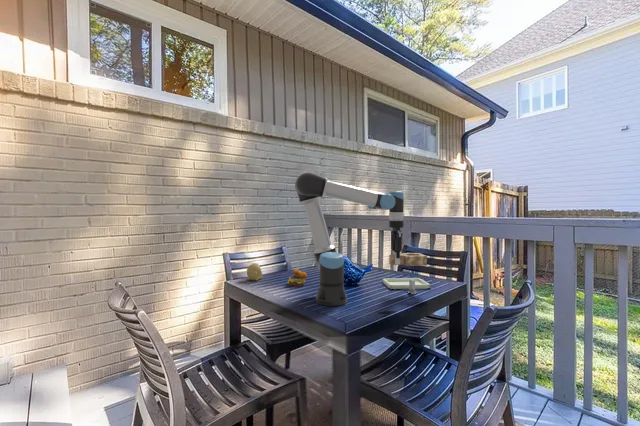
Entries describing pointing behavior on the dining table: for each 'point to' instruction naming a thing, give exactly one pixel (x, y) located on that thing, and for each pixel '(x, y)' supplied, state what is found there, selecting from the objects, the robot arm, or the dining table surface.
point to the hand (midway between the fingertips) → (396, 263)
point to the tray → (405, 283)
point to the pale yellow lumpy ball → (254, 272)
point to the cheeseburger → (297, 278)
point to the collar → (409, 259)
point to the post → (412, 287)
